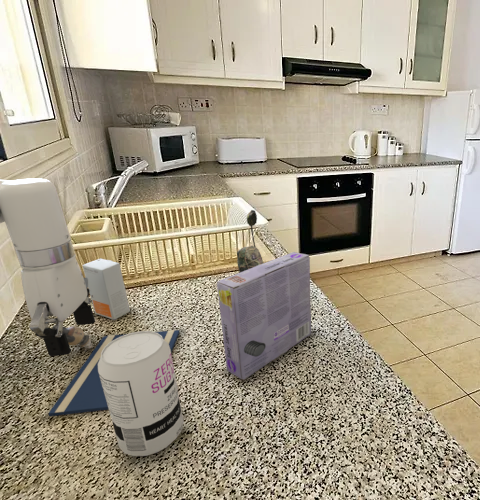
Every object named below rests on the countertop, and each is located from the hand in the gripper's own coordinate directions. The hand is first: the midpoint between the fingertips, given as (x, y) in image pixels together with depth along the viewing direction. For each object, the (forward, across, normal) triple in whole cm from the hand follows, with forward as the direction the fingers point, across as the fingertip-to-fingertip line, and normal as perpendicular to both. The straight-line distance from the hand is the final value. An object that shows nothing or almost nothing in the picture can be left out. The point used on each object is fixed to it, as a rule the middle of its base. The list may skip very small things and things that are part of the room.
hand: (74, 338), depth 69 cm
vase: (+3, 0, -1) cm, 3 cm away
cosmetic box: (+3, -13, +1) cm, 13 cm away
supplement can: (+3, +23, +19) cm, 30 cm away
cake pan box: (+4, +6, +36) cm, 37 cm away
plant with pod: (+3, -20, +32) cm, 38 cm away
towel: (+3, +7, +10) cm, 13 cm away
